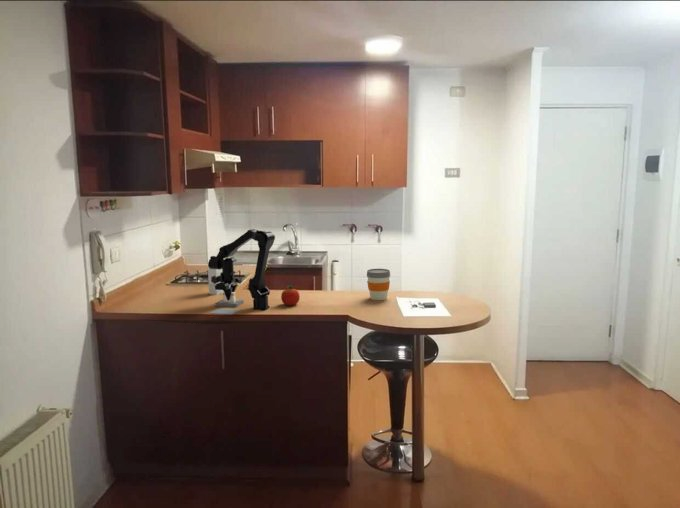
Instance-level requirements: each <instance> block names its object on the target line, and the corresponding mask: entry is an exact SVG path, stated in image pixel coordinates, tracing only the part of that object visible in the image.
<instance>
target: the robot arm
mask: <svg viewBox="0 0 680 508" xmlns="http://www.w3.org/2000/svg"><path fill="white" fill-rule="evenodd" d="M251 240H254V241H255V242H257V246H258V254H257V259H256V264H255V265H256V267H255V272H254V276H253V277H252V278H249V280H248V285H247V287H248V291H249V292H250V295H251V297H252V299H253V300H252V303H253V304H252V305H253V308H252V309H253V310H257V311H258V310H260V311H266V310H268V309H269V308H271V307H270V306H269V295H270V293H271V291H270V290H269V288H268V287H267V286H266V279H265V275H266V274H265V273H266V269H267V264H268V258H269V254H270V253H269V252H270V250H271V248H272V247H273V244H274V243H275V240H276V235H274V233H273V232H272V231H264V230H257V229H255V228H252V229H248V230H247V231H246V232H245V233H243V234H242V235H240V236H239V237H238V238H236V239H235V240H234V241H232V242H231V243H228V244H226V245H223V246H221V247H220V248H219V249H218V251H219V252H217V255H216V256H215V255H211V256H210V259H209V260H208V263H207V265H208V267H207V268H210V269H222V272H221V273H220V276H217V277H216V276H212V277H211V282H213V283H214V284H216V283H218V282H220V283H218V284H216V285H215V290H223V291H224V293H225V295H226V298H227V300H230V297H231V292H235V293H236V289H237V287H238V286H239V285H238V284H241V283H242V278H241V277H239V276H235V274H236V271H235V269H234V263H235V262H237V261H238V260H237V258H235V257H234V255H236V253H237V252H238V250H239V249H240V248H241V247H242V246H244V245H245V244H247V243H248V242H249V241H251ZM236 283H238V284H236Z"/></svg>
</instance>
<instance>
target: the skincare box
mask: <svg viewBox="0 0 680 508" xmlns="http://www.w3.org/2000/svg"><path fill="white" fill-rule="evenodd" d="M221 272H222V269H210V268H209V267H207V275H208V277H207V280H208V292H209V295H216V296H217V295H223V292H224V291H223V290H215V285H216V284H218V283H220V282H218V283H216V284H214V283H213V282H211V277H212V276H216V277H217V276H220V273H221Z"/></svg>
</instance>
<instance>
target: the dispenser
mask: <svg viewBox="0 0 680 508" xmlns="http://www.w3.org/2000/svg"><path fill="white" fill-rule="evenodd" d="M244 301H245V300H244V299H236V302H223V298H222V299H221V300H219V301H217V302H215V307H224V308H225V307H228V308H238V307H240V306H241V305H243V304H244Z"/></svg>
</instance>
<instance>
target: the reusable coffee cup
mask: <svg viewBox="0 0 680 508" xmlns="http://www.w3.org/2000/svg"><path fill="white" fill-rule="evenodd" d="M366 271H367V272H366V277H367V281H366V283H367V290H368V291H369V297H370V300H372V301H373V300H374V301H385V300H387V298H388V292H389V290H390V282H391V281H390V278H391V271H390V269H386V268H370V269H368V270H366Z"/></svg>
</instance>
